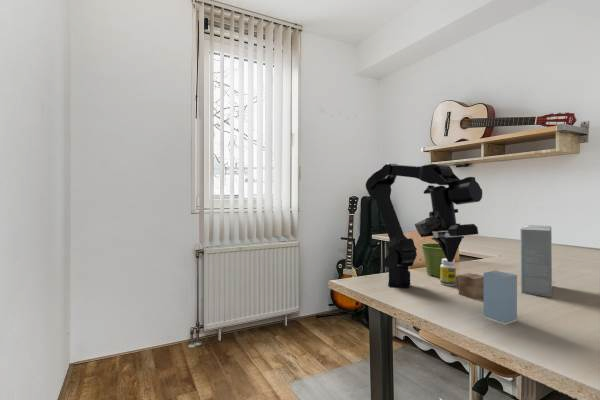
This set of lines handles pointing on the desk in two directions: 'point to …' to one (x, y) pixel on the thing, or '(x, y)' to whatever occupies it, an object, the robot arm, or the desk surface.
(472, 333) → the desk surface
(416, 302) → the desk surface
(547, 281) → the hard drive box
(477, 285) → the walnut block
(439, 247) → the plant pot
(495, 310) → the slate block
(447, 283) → the supplement bottle
